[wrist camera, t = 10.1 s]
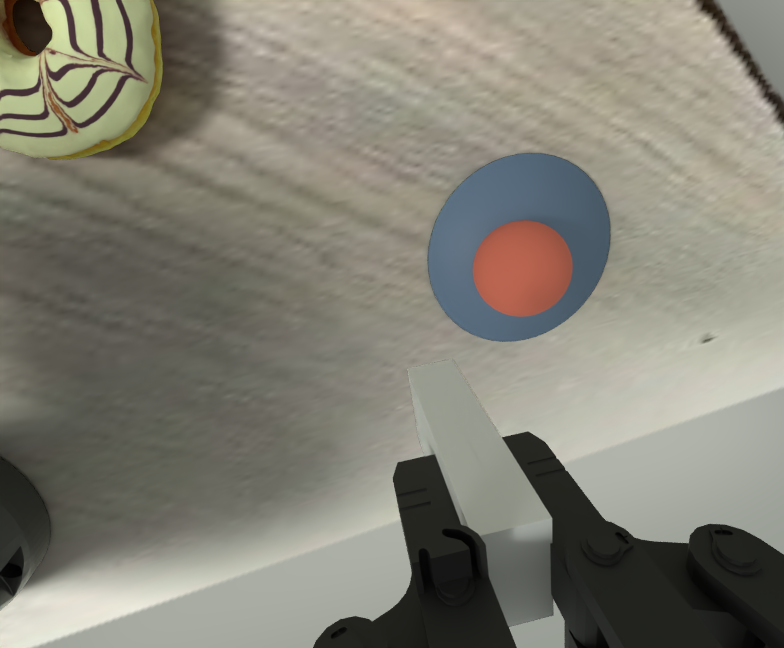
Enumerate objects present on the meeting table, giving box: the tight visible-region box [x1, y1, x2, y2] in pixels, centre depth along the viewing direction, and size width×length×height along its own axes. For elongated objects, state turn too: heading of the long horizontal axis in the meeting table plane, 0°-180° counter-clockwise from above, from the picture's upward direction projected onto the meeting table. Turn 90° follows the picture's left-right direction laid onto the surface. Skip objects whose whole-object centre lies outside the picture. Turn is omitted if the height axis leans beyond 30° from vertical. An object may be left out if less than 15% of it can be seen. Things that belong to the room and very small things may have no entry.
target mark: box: [428, 153, 610, 342], centre depth 28 cm, size 12×12×1 cm
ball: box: [473, 220, 573, 317], centre depth 25 cm, size 6×6×6 cm
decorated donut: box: [0, 0, 163, 160], centre depth 19 cm, size 10×11×4 cm
